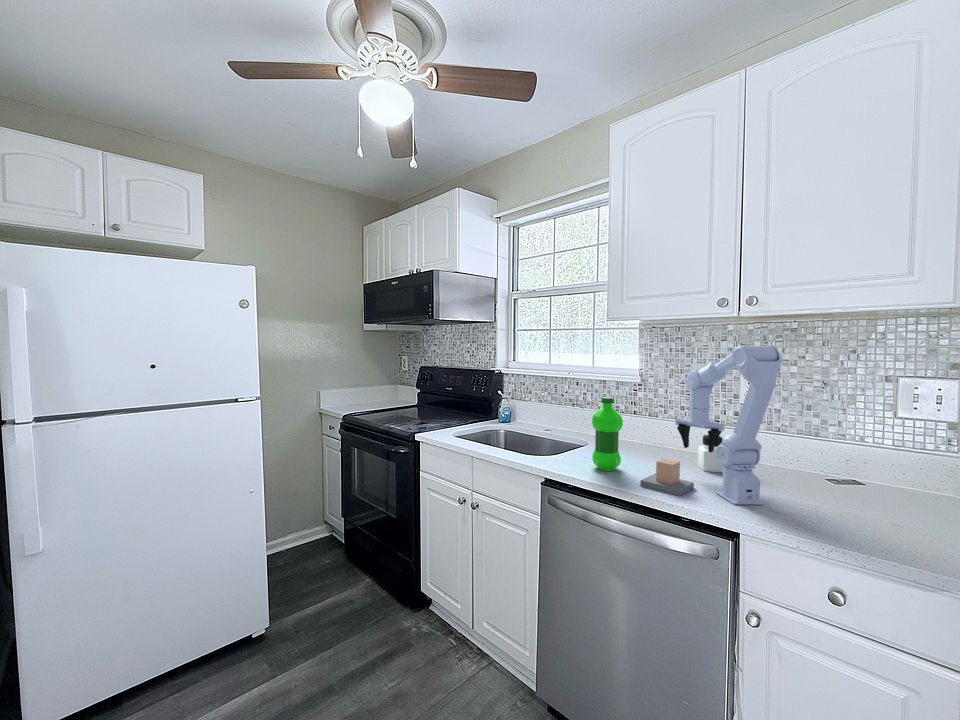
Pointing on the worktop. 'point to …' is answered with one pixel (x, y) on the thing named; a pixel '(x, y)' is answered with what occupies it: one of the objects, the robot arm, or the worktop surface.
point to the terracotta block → (668, 471)
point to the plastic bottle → (606, 436)
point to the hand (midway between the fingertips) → (698, 449)
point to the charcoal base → (667, 485)
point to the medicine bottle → (709, 456)
